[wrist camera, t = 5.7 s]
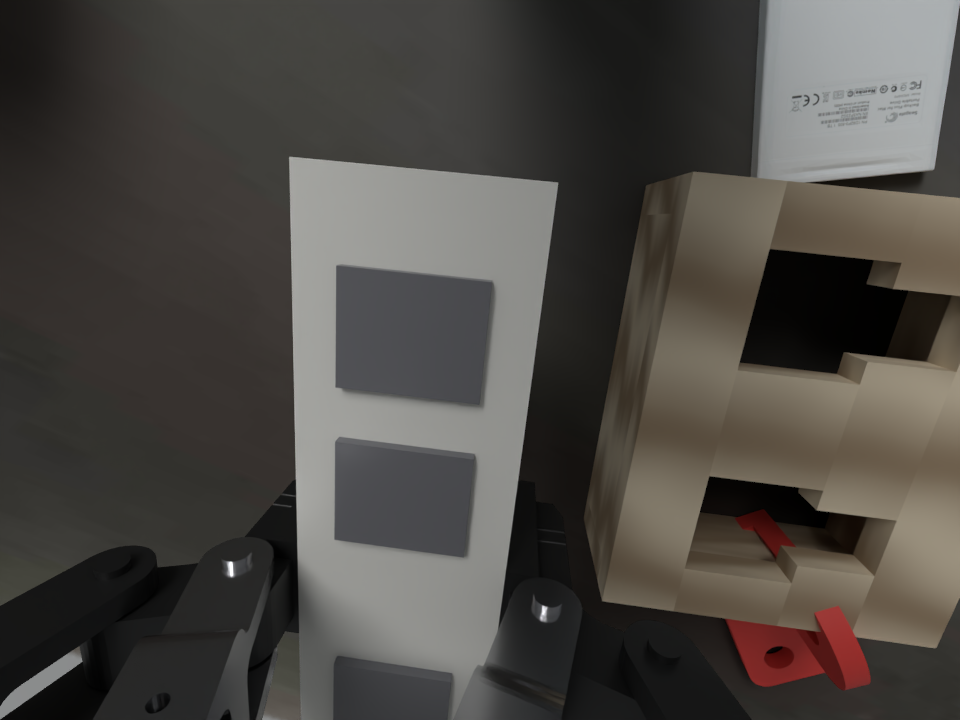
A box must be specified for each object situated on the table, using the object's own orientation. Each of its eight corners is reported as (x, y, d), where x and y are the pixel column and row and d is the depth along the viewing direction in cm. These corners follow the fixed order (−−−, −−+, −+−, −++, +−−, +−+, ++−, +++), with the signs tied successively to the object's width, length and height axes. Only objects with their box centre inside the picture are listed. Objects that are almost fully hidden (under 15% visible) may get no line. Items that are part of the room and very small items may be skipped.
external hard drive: (954, -128, 21) (913, 173, 24) (758, -98, 22) (744, 189, 25) (989, -156, 20) (940, 169, 23) (777, -122, 20) (759, 187, 24)
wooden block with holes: (646, 185, 25) (693, 171, 18) (966, 218, 24) (1138, 215, 17) (583, 518, 31) (601, 601, 24) (841, 552, 30) (935, 648, 23)
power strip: (412, 187, 15) (272, 152, 7) (538, 199, 15) (561, 179, 6) (392, 594, 20) (294, 879, 11) (487, 607, 20) (461, 909, 11)
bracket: (690, 532, 30) (747, 637, 22) (763, 508, 29) (849, 609, 22) (747, 674, 33) (816, 811, 25) (816, 656, 32) (909, 792, 24)
